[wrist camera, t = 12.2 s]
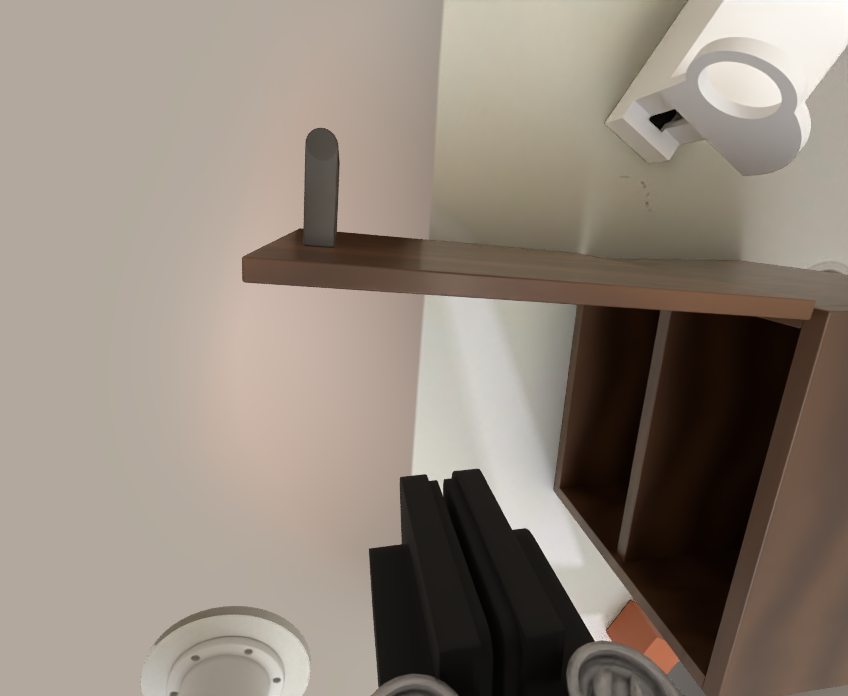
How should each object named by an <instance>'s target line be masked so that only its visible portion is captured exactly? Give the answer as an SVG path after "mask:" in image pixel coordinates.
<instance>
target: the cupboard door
mask: <svg viewBox="0 0 848 696" xmlns="http://www.w3.org/2000/svg"><path fill="white" fill-rule="evenodd" d="M305 149H306V150H305V192H304V194H305V196H304V229H298V230H296V231H294V232H292V233H290V234H288V235H286V236H284V237H282V238H280V239H278V240H276V241H274V242H272V243H270V244H268V245H266V246H263V247H261V248H260V249H257V250H255V251H254V252H251V253H249V254H247V255H246V256H244V257H243V258H242V279H243V282H247V283H262V284H276V285H291V286H307V287H321V288H336V289H351V290H366V291H381V292H397V293H412V294H426V295H441V296H456V297H471V298H486V299H501V300H516V301H531V302H546V303H561V304H576V305H591V306H606V307H621V308H636V309H651V310H666V311H681V312H696V313H711V314H726V315H741V316H756V317H771V318H786V319H801V320H809V319H810V318H811V315H812V312H813V309H814V306H815V303H816V301H815V300H812V299H807V298H802V297H797V296H792V295H787V294H782V293H776V292H771V291H766V290H761V289H756V288H751V287H746V286H741V285H736V284H731V283H726V282H721V281H716V280H710V279H705V278H700V277H695V276H690V275H685V274H680V273H675V272H670V271H665V270H660V269H655V268H650V267H644V266H639V265H634V264H629V263H624V262H619V261H614V260H609V259H604V258H599V257H594V256H589V255H583V254H578V253H569V252H557V251H546V250H535V249H524V248H513V247H501V246H490V245H479V244H468V243H457V242H446V241H434V240H423V239H412V238H401V237H389V236H378V235H367V234H356V233H344V232H337V210H338V187H339V151H338V142H337V139H336V137H335V135H334V134H333V133H332V132H331V131H329V130H327V129H325V128H317V129H314V130H312V131H311V132H310V133H309V134H308V136H307V139H306V148H305Z"/></svg>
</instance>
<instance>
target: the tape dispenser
mask: <svg viewBox="0 0 848 696" xmlns="http://www.w3.org/2000/svg"><path fill="white" fill-rule="evenodd" d="M847 45H848V0H688V2H687V3H686V5H685V6H684V8H683V9H682V10H681V12H680V13H679V15H678V16H677V18H676V19H675V21H674V22H673V24H672V25H671V27H670V28H669V30H668V31H667V32H666V34H665V35H664V37H663V38H662V40H661V41H660V43H659V44H658V46H657V47H656V49H655V50H654V52H653V53H652V55H651V56H650V57H649V59H648V60H647V62H646V63H645V65H644V66H643V68H642V69H641V71H640V72H639V74H638V75H637V77H636V78H635V79H634V81H633V82H632V84H631V85H630V87H629V88H628V90H627V91H626V93H625V94H624V96H623V97H622V99H621V100H620V101H619V103H618V104H617V106H616V107H615V109H614V110H613V112H612V113H611V115H610V116H609V118H608V119H607V121H606V122H605V124H606V125H607V126H608V127H609V128H610V129H611V130H612V131H613V132H614V133H616V134H617V135H618V136H619V137H620V138H621V139H622V140H623V141H624V142H625V143H627V144H628V145H629V146H630V147H631V148H632V149H633V150H634V151H635V152H637V153H638V154H639V155H640V156H641V157H642V158H643V159H644V160H645V161H646V162H648V163H656V162H663V161H669V160H670V158H671V157H672V155H673V154H674V153H675V151H676V150H677V148H678V147H679V146H680V144H684V143H689V142H695V141H700V140H707V141H708V142H709V143H710V144H711V145H712V146H713V147H714V148H715V149H716V150H717V151H718V152H719V153H720V154H721V155H722V156H723V157H724V158H725V159H726V160H727V161H729V162H730V163H731V164H732V165H733V166H734V167H735V168H736V169H737V170H738V171H739V172H740V173H741V174H742V175H743V176H750V175H761V174H766V173H771V172H774V171H777V170H779V169H781V168H783V167H785V166H786V165H788V164H789V163H790V162H791V161H792V160H793V159H794V158H795V157H796V156H797V154H798V153H799V152H800V150H801V149H802V148H803V146H804V145H805V144H806V142H807V140H808V138H809V135H810V130H811V120H810V114H809V111H808V108H807V106H806V103H805V101H806V99H807V98H808V97H809V95H810V94H811V93H812V91H813V90H814V89H815V87H816V86H817V85H818V83H819V82H820V81H821V79H822V78H823V77H824V75H825V74H826V73H827V71H828V70H829V69H830V67H831V66H832V65H833V63H834V62H835V61H836V59H837V58H838V57H839V55H840V54H841V53H842V51H843V50H844V49H845V47H846V46H847ZM674 109H676V110H677V111H678V112H677V113H676V115H675V116H674V117H673V119H672V120H671V122H669V123H665V124H664V125H663V127H662V128H661V129H660V130H659V129H658V128H657V127H656V126H655V125H654V124H653V123H651V122H650V121H649V119H650V117H651V116H653V115H657V114H660V113H664V112H667V111H670V110H674Z"/></svg>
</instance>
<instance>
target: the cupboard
mask: <svg viewBox="0 0 848 696" xmlns="http://www.w3.org/2000/svg"><path fill="white" fill-rule="evenodd" d="M609 260H614V261H619V262H624V263H629V264H634V265H639V266H644V267H650V268H655V269H660V270H665V271H670V272H675V273H680V274H685V275H690V276H695V277H700V278H705V279H710V280H716V281H721V282H726V283H731V284H736V285H741V286H746V287H751V288H756V289H761V290H766V291H771V292H776V293H782V294H787V295H792V296H797V297H802V298H807V299H812V300H815V301H816V303H815V306H814V309H813V312H812V315H811V318H810V319H809V320H801V319H786V318H771V317H756V316H741V315H726V314H711V313H696V312H681V311H666V310H651V309H636V308H621V307H606V306H591V305H577V312H576V320H575V327H574V335H573V343H572V351H571V359H570V367H569V374H568V382H567V390H566V398H565V406H564V413H563V421H562V429H561V437H560V445H559V453H558V460H557V468H556V476H555V484H554V492H555V493H556V494H557V496H558V497H559V499H560V500H561V501H562V503H563V504H564V505H565V507H566V508H567V509H568V511H569V512H570V513H571V515H572V516H573V517H574V519H575V520H576V521H577V523H578V524H579V525H580V527H581V528H582V529H583V531H584V532H585V533H586V535H587V536H588V538H589V539H590V540H591V542H592V543H593V544H594V546H595V547H596V548H597V550H598V551H599V552H600V554H601V555H602V556H603V558H604V559H605V560H606V562H607V563H608V564H609V566H610V567H611V568H612V570H613V571H614V572H615V574H616V575H617V577H618V578H619V579H620V581H621V582H622V583H623V585H624V586H625V587H626V589H627V590H628V591H629V593H630V594H631V595H632V597H633V598H634V599H635V601H636V602H637V603H638V605H639V606H640V607H641V609H642V610H643V611H644V613H645V614H646V615H647V617H648V618H649V620H650V621H651V622H652V624H653V625H654V626H655V628H656V629H657V630H658V632H659V633H660V634H661V636H662V637H663V638H664V640H665V641H666V642H667V644H668V645H669V646H670V648H671V649H672V650H673V652H674V653H675V654H676V656H677V657H678V659H679V660H680V661H681V663H682V664H683V665H684V667H685V668H686V669H687V670H688V672H689V673H690V674H691V676H692V677H693V679H694V680H695V681H696V683H697V684H698V685H699V687H700V688H701V689H702V690H703V692H704V693H705V695H706V696H785V695H790V694H796V693H802V692H808V691H813V690H820V689H825V688H831V687H837V686H843V685H848V275H845V274H837V273H830V272H822V271H815V270H807V269H800V268H793V267H785V266H778V265H770V264H763V263H755V262H748V261H731V260H659V259H609Z"/></svg>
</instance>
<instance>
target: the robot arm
mask: <svg viewBox="0 0 848 696" xmlns="http://www.w3.org/2000/svg"><path fill="white" fill-rule="evenodd" d="M400 504H401V531H402V532H401V533H402V544H401V545H394V546H387V547H379V548H371V549H369V558H370V575H371V591H372V606H373V620H374V633H375V646H376V658H377V659H376V660H377V672H378V686H379V688H378V689H377V690H376V691H375V693H373V694H372V695H371V696H685V695H684V694H683V693H682V692H681V691H680V690H679V688H678V687H677V686H676V685H675V684H674V683H673V681H672V680H671V679H670V678H669V677H668V676H667V674H666V673H665V672H664V671H663V670H662V669H661V668H660V667H659V666H657V665H656V664H655V663H654V662H653V661H652V660H651V659H650V658H648V657H647V656H645V655H644V654H642V653H640V652H639V651H637V650H636V649H634V648H631V647H629V646H626V645H623V644H620V643H618V642H609V641H596V642H595V641H594V639H593V637H592V636H591V634H590V632H589V631H588V629H587V627H586V625H585V624H584V622H583V620H582V619H581V617H580V615H579V613H578V612H577V610H576V608H575V607H574V605H573V603H572V602H571V600H570V598H569V596H568V595H567V593H566V591H565V590H564V588H563V586H562V584H561V583H560V581H559V579H558V578H557V576H556V574H555V572H554V571H553V569H552V567H551V566H550V564H549V562H548V561H547V559H546V557H545V555H544V554H543V552H542V550H541V549H540V547H539V545H538V543H537V542H536V540H535V538H534V537H533V535H532V534H531V532H530V531H529V530H528V529H526V528H524V529H516V530H512V529H511V527H510V525H509V523H508V521H507V519H506V518H505V516H504V514H503V512H502V510H501V508H500V506H499V504H498V502H497V501H496V499H495V497H494V495H493V493H492V491H491V489H490V487H489V485H488V484H487V482H486V480H485V478H484V476H483V474H482V472H481V471H480V469H471V470H461V471H453V473H452V479H444V483H443V495H442V492H441V489H440V487H439V484H438V481H437V480H435V481H429V480H428V477H427V475H426V474H424V475H415V476H406V477H400ZM284 679H285V671H284V665H283V663H282V661H281V659H280V657H279V656H278V655H277V653H276V652H275V651H274V650H272V649H271V648H270V647H269V646H267V645H265V644H263V643H261V642H259V641H256V640H253V639H250V638H245V637H232V636H228V637H220V638H215V639H211V640H207V641H204V642H202V643H200V644H197V645H195V646H194V647H192V648H190V649H189V650H187V651H186V652H185V653H184V654H183V655H181V656H180V657H179V658H178V660H177V661H176V662H175V664H174V665H173V667H172V670H171V672H170V674H169V677H168V681H167V684H166V694H167V696H280V695H281V693H282V690H283V686H284Z"/></svg>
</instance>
